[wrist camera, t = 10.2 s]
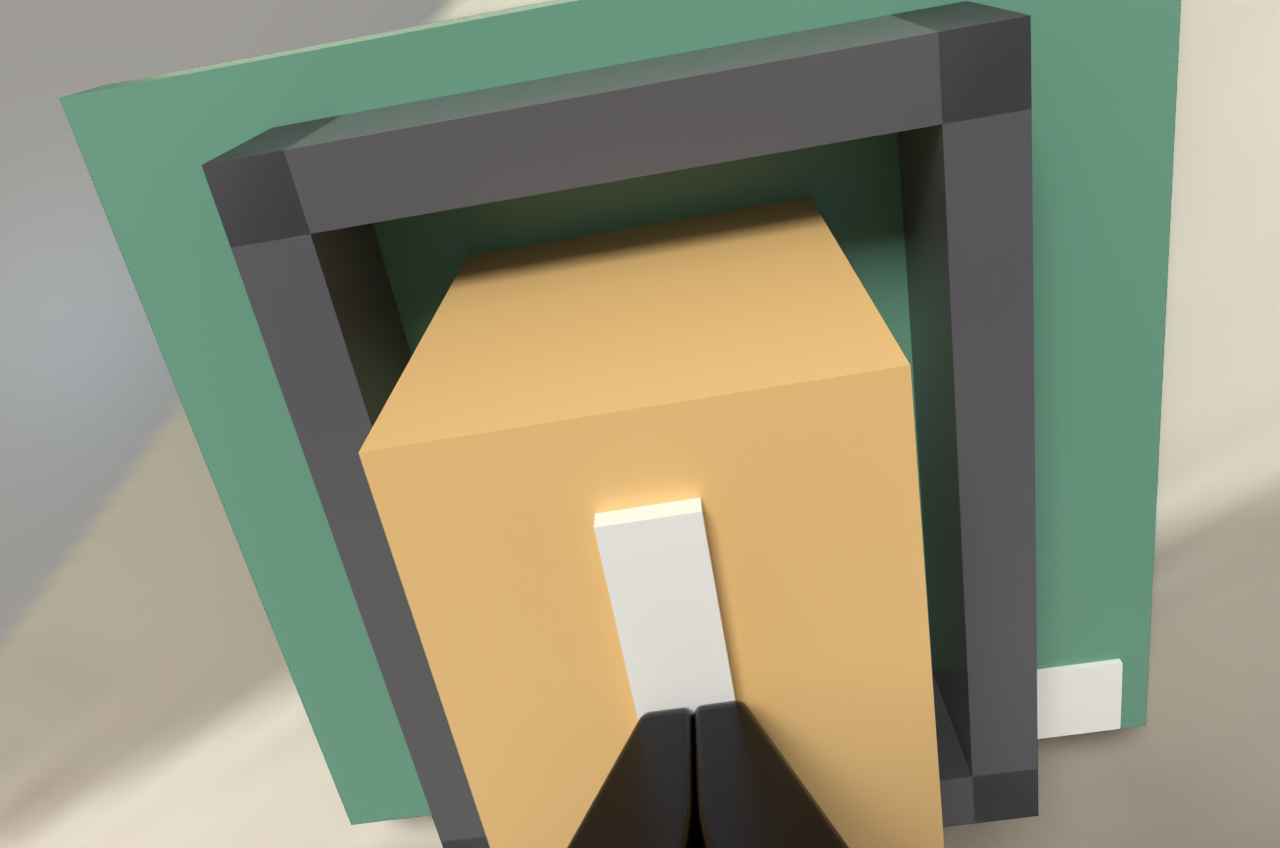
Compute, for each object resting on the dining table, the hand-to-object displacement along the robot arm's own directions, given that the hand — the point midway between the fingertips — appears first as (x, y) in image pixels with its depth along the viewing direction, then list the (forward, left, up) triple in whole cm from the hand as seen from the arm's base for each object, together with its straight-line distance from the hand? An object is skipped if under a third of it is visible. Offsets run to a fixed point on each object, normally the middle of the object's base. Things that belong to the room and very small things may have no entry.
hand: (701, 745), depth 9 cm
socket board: (0, 0, -6) cm, 6 cm away
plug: (0, 0, -5) cm, 5 cm away
